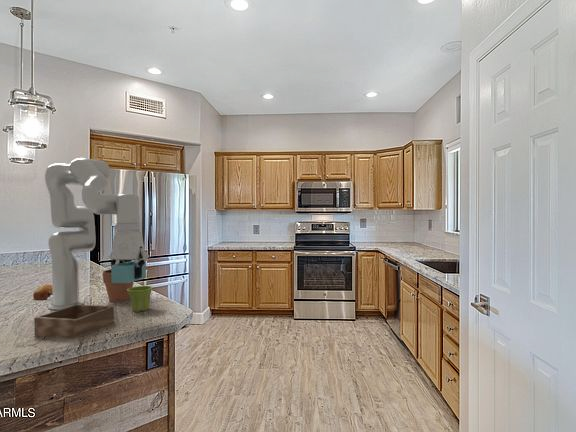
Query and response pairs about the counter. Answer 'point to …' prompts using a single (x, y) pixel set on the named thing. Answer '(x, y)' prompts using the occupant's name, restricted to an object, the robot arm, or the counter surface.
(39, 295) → the bread roll
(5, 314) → the counter surface
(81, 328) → the crate large
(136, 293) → the plant pot
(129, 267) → the box
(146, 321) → the counter surface
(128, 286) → the potted plant
